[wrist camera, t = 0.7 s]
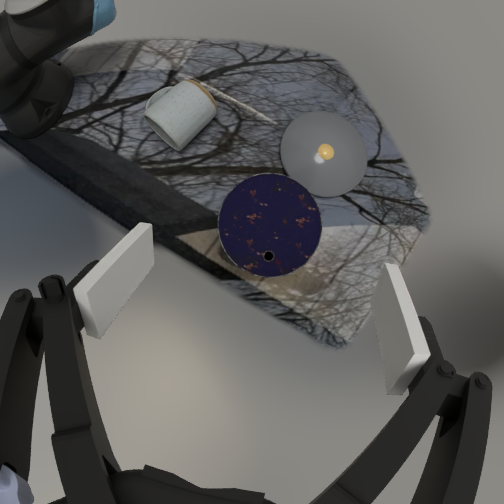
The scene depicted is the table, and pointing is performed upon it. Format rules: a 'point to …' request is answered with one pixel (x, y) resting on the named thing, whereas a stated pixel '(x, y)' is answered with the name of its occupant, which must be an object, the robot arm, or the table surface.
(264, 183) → the navy cylinder
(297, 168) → the grey flat round disc
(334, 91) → the table surface
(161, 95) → the ceramic mug
